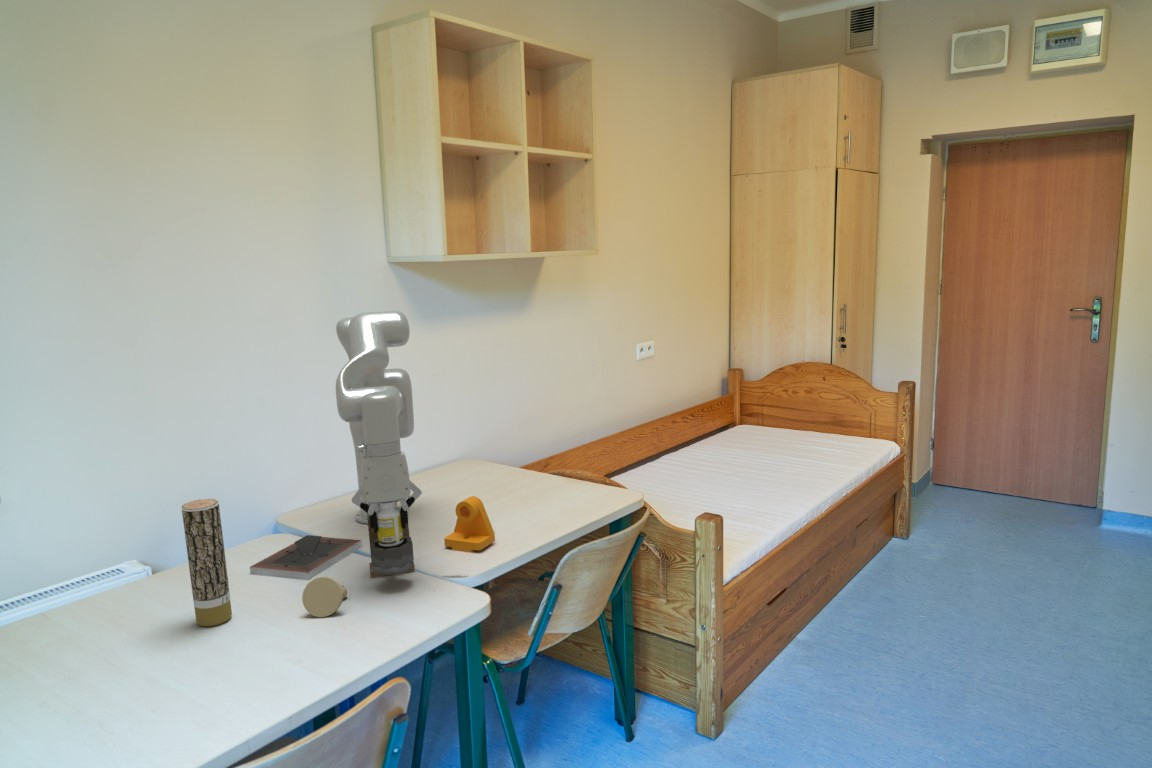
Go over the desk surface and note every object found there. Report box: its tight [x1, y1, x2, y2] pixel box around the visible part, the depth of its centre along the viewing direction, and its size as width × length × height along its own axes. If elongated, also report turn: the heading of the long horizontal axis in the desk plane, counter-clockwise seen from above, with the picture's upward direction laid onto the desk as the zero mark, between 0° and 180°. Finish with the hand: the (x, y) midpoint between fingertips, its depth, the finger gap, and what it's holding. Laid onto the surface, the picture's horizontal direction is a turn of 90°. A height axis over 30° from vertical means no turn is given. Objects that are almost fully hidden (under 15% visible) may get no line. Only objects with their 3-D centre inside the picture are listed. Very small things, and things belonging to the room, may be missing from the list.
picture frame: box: [249, 534, 363, 581], centre depth 197 cm, size 16×2×22 cm
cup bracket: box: [367, 512, 416, 578], centre depth 182 cm, size 17×10×14 cm, turn 16°
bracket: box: [443, 495, 496, 553], centre depth 201 cm, size 11×7×12 cm, turn 66°
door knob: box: [301, 576, 348, 618], centre depth 170 cm, size 10×8×8 cm
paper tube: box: [181, 498, 233, 627], centre depth 163 cm, size 7×7×25 cm
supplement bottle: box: [376, 501, 403, 547], centre depth 177 cm, size 5×5×10 cm
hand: (389, 527), depth 177 cm, fingers closed on supplement bottle, 5 cm apart
